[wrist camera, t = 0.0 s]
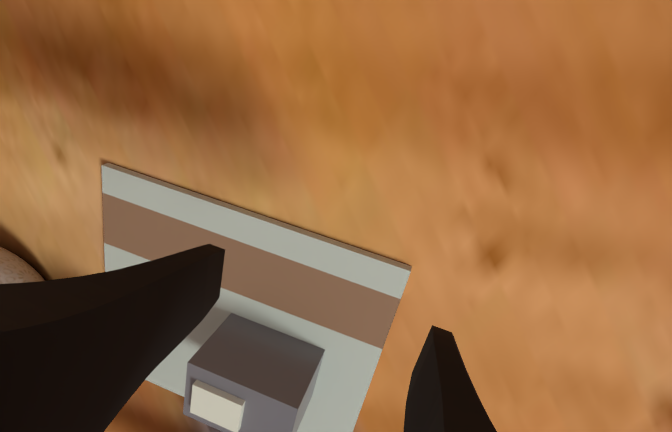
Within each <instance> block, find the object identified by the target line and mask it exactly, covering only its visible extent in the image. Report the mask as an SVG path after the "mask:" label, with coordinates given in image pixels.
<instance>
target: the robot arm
mask: <svg viewBox="0 0 672 432" xmlns="http://www.w3.org/2000/svg"><path fill="white" fill-rule="evenodd" d="M224 256H225V249H222V248H220V247H217V246H214V245H212V244H206V245H202V246H199V247H195V248H192V249H188V250H185V251H182V252H179V253H175V254H172V255H169V256H165V257H162V258H159V259H155V260H152V261H148V262H144V263H141V264H137V265H133V266H129V267H125V268H121V269H117V270H113V271H108V272H103V273H97V274H92V275H86V276H80V277H73V278H64V279H56V280H48V281H38V282H25V283H7V284H0V432H104V431H105V429H106V428H107V427H108V425H109V424H110V423H111V421H112V420H113V419H114V418H115V416H116V415H117V414H118V412H119V411H120V410H121V409H122V407H123V406H124V405H125V403H126V402H127V401H128V400H129V399H130V397H131V396H132V395H133V394H134V392H135V391H136V390H137V389H138V387H139V386H140V385H141V384H142V383H143V381H144V380H145V379H146V378H147V377H148V376H149V375H150V373H151V372H152V371H153V370H154V369H155V368H156V367H157V366H158V365H159V364H160V363H161V362H162V361H163V360H164V359H165V358H166V357H167V356H168V355H169V354H170V353H171V352H172V351H173V350H174V349H175V348H176V347H177V346H178V345H179V344H180V343H181V342H182V341H183V340H184V339H185V338H186V337H187V336H188V335H189V334H190V333H191V332H192V331H193V330H194V329H195V328H196V327H197V326H198V325H199V323H200V322H201V321H202V320H203V319H204V318H205V316H206V315H207V314H208V313H209V311H210V310H211V309H212V307H213V306H214V304H215V303H216V302H217V300H218V299H219V297H220V289H221V281H222V272H223V264H224ZM404 432H497V431H496V429H495V428H494V426H493V424H492V422H491V421H490V419H489V417H488V415H487V413H486V411H485V409H484V407H483V405H482V403H481V401H480V399H479V397H478V395H477V393H476V391H475V388H474V386H473V384H472V382H471V379H470V377H469V375H468V373H467V370H466V368H465V365H464V363H463V360H462V358H461V355H460V352H459V350H458V347H457V344H456V342H455V339H454V336H453V334H452V332H449V331H446V330H444V329H441V328H438V327H435V326H433V325H432V327H431V329H430V332H429V334H428V337H427V339H426V341H425V344H424V346H423V348H422V351H421V353H420V355H419V358H418V360H417V362H416V365H415V367H414V370H413V372H412V376H411V381H410V385H409V390H408V396H407V401H406V409H405V422H404Z"/></svg>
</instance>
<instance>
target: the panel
mask: <svg viewBox="0 0 672 432" xmlns="http://www.w3.org/2000/svg"><path fill="white" fill-rule="evenodd" d="M102 195H103V225H104V254H105V272H108V271H113V270H117V269H121V268H125V267H129V266H133V265H137V264H141V263H144V262H148V261H152V260H155V259H159V258H162V257H165V256H169V255H172V254H175V253H179V252H182V251H185V250H188V249H192V248H195V247H199V246H202V245H206V244H212V245H214V246H217V247H220V248H222V249H225V256H224V264H223V272H222V281H221V289H220V297H219V299H218V300H217V302H216V303H215V304H214V306H213V307H212V309H211V310H210V311H209V313H208V314H207V315H206V316H205V318H204V319H203V320H202V321H201V322H200V323H199V325H198V326H197V327H196V328H195V329H194V330H193V331H192V332H191V333H190V334H189V335H188V336H187V337H186V338H185V339H184V340H183V341H182V342H181V343H180V344H179V345H178V346H177V347H176V348H175V349H174V350H173V351H172V352H171V353H170V354H169V355H168V356H167V357H166V358H165V359H164V360H163V361H162V362H161V363H160V364H159V365H158V366H157V367H156V368H155V369H154V370H153V371H152V372H151V373H150V375H149V376H148V377H147V378H146V379H145V380H147V381H149V382H151V383H154V384H156V385H158V386H160V387H163V388H165V389H167V390H170V391H172V392H174V393H176V394H179V395H181V396H183V397H185V385H186V373H187V362H188V361H189V360H190V359H191V358H192V356H193V355H194V354H195V353H196V352H197V351H198V350H199V349H200V347H201V346H202V345H203V344H204V343H205V342H206V341H207V340H208V338H209V337H210V336H211V335H212V334H213V333H214V332H215V331H216V330H217V328H218V327H219V326H220V325H221V324H222V323H223V322H224V321H225V319H226V318H227V317H228V316H229V315H230V314H231V313H233V314H236V315H239V316H241V317H244V318H246V319H249V320H251V321H254V322H256V323H259V324H261V325H264V326H267V327H269V328H272V329H274V330H277V331H279V332H282V333H284V334H287V335H289V336H292V337H295V338H297V339H300V340H302V341H305V342H307V343H310V344H312V345H315V346H317V347H320V348H323V349H325V352H324V356H323V359H322V363H321V366H320V370H319V373H318V377H317V380H316V384H315V388H314V391H313V395H312V398H311V400H310V402H309V405H308V407H307V409H306V412H305V414H304V416H303V419H302V421H301V423H300V426H299V428H298V430H297V432H353V429H354V426H355V424H356V421H357V418H358V415H359V412H360V410H361V407H362V404H363V401H364V399H365V396H366V393H367V390H368V388H369V385H370V382H371V379H372V377H373V374H374V371H375V368H376V366H377V363H378V360H379V357H380V355H381V352H382V349H383V346H384V344H385V341H386V338H387V335H388V333H389V330H390V327H391V324H392V322H393V319H394V316H395V313H396V310H397V308H398V305H399V302H400V299H401V297H402V294H403V291H404V288H405V286H406V283H407V280H408V277H409V275H410V272H411V268H412V266H409V265H406V264H403V263H400V262H397V261H395V260H392V259H389V258H386V257H383V256H380V255H377V254H374V253H371V252H368V251H365V250H362V249H359V248H356V247H354V246H351V245H348V244H345V243H342V242H339V241H336V240H333V239H330V238H327V237H324V236H321V235H318V234H316V233H313V232H310V231H307V230H304V229H301V228H298V227H295V226H292V225H289V224H286V223H283V222H280V221H278V220H275V219H272V218H269V217H266V216H263V215H260V214H257V213H254V212H251V211H248V210H245V209H242V208H240V207H237V206H234V205H231V204H228V203H225V202H222V201H219V200H216V199H213V198H210V197H207V196H204V195H201V194H199V193H196V192H193V191H190V190H187V189H184V188H181V187H178V186H175V185H172V184H169V183H166V182H163V181H161V180H158V179H155V178H152V177H149V176H146V175H143V174H140V173H137V172H134V171H131V170H128V169H125V168H123V167H120V166H117V165H114V164H111V163H106V164H103V165H102Z"/></svg>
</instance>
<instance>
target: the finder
mask: <svg viewBox="0 0 672 432" xmlns="http://www.w3.org/2000/svg"><path fill="white" fill-rule="evenodd" d="M324 352H325V349H323V348H320V347H317V346H315V345H312V344H310V343H307V342H305V341H302V340H300V339H297V338H295V337H292V336H289V335H287V334H284V333H282V332H279V331H277V330H274V329H272V328H269V327H267V326H264V325H261V324H259V323H256V322H254V321H251V320H249V319H246V318H244V317H241V316H239V315H236V314H233V313H231V314H230V315H229V316H228V317H227V318H226V319H225V321H224V322H223V323H222V324H221V325H220V326H219V327H218V328H217V330H216V331H215V332H214V333H213V334H212V335H211V336H210V337H209V338H208V340H207V341H206V342H205V343H204V344H203V345H202V346H201V347H200V349H199V350H198V351H197V352H196V353H195V354H194V355H193V356H192V358H191V359H190V360H189V361H188V362H187V373H186V385H185V397H184V409H183V414H184V415H186V416H188V417H191V418H193V419H195V420H197V421H199V422H202V423H204V424H206V425H208V426H211V427H213V428H215V429H217V430H219V431H222V432H297V430H298V428H299V426H300V423H301V421H302V419H303V416H304V414H305V412H306V409H307V407H308V405H309V402H310V400H311V398H312V395H313V391H314V388H315V384H316V380H317V377H318V373H319V370H320V366H321V363H322V359H323V356H324Z"/></svg>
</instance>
